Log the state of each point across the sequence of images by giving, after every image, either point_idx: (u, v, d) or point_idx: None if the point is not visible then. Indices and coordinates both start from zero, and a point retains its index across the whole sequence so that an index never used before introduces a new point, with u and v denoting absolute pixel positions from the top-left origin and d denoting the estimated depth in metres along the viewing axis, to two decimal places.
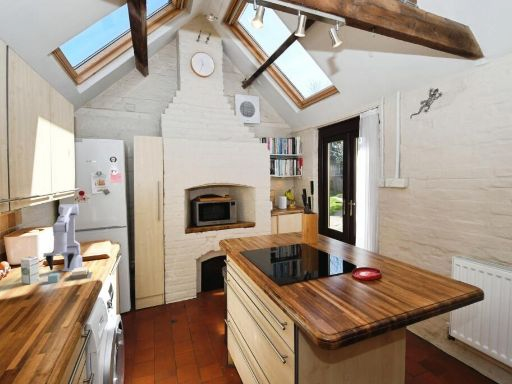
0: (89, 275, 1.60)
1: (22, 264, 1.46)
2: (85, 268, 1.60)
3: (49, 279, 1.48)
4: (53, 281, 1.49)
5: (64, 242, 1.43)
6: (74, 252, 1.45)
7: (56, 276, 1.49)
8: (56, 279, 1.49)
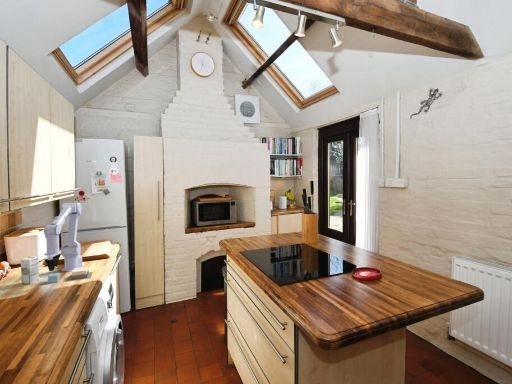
0: (89, 275, 1.60)
1: (22, 264, 1.46)
2: (85, 268, 1.60)
3: (49, 279, 1.48)
4: (53, 281, 1.49)
5: (55, 244, 1.48)
6: None
7: (56, 276, 1.49)
8: (56, 279, 1.49)
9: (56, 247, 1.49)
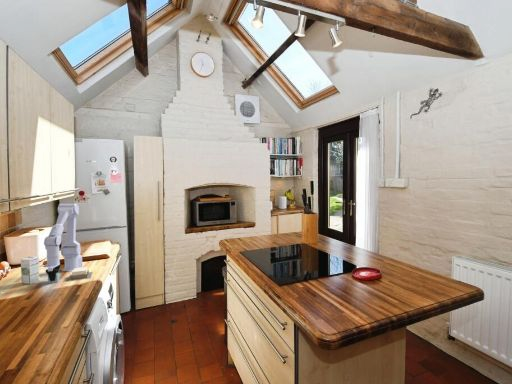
0: (89, 275, 1.60)
1: (22, 264, 1.46)
2: (85, 268, 1.60)
3: (49, 279, 1.48)
4: (53, 281, 1.49)
5: (55, 256, 1.49)
6: None
7: (56, 276, 1.49)
8: (56, 278, 1.49)
9: (56, 258, 1.49)
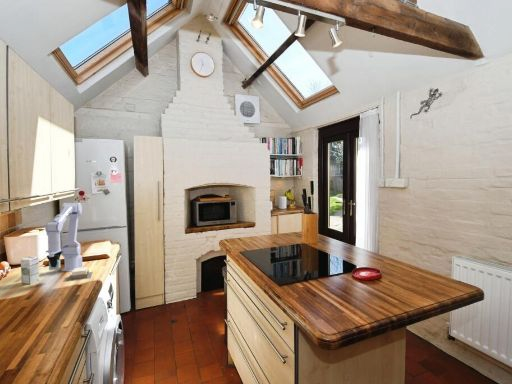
0: (89, 275, 1.60)
1: (22, 264, 1.46)
2: (85, 268, 1.60)
3: (50, 265, 1.48)
4: (54, 267, 1.49)
5: (56, 242, 1.49)
6: None
7: (57, 262, 1.49)
8: (57, 265, 1.49)
9: (57, 244, 1.49)
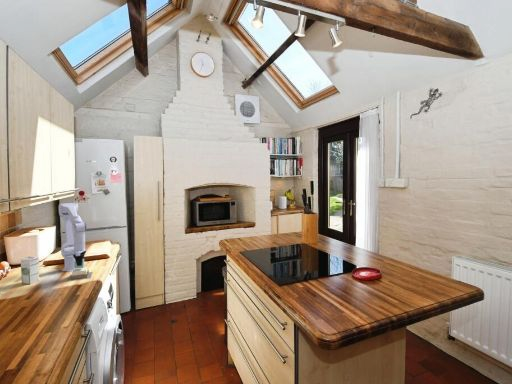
0: (89, 275, 1.60)
1: (22, 264, 1.46)
2: (85, 268, 1.60)
3: (75, 264, 1.55)
4: (79, 266, 1.56)
5: (84, 241, 1.58)
6: None
7: (82, 261, 1.57)
8: None
9: (83, 244, 1.57)
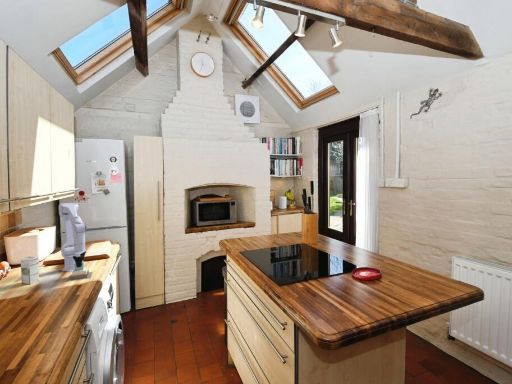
0: (89, 275, 1.60)
1: (22, 264, 1.46)
2: (85, 268, 1.60)
3: (75, 266, 1.55)
4: (79, 268, 1.56)
5: (84, 242, 1.58)
6: None
7: (82, 264, 1.57)
8: (82, 266, 1.57)
9: (83, 245, 1.57)
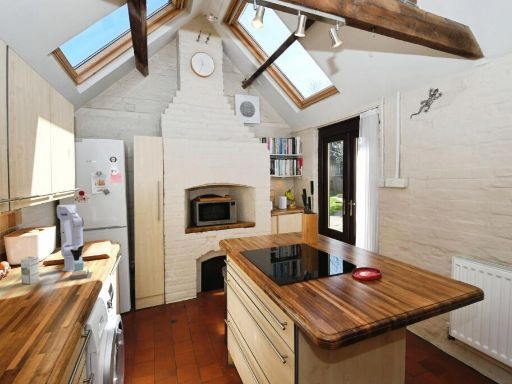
0: (89, 275, 1.60)
1: (22, 264, 1.46)
2: (85, 268, 1.60)
3: (75, 266, 1.55)
4: (79, 268, 1.56)
5: (82, 235, 1.60)
6: None
7: (82, 264, 1.57)
8: (82, 266, 1.57)
9: (80, 238, 1.59)
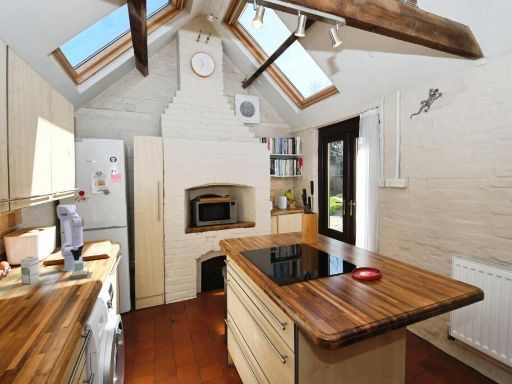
0: (89, 275, 1.60)
1: (22, 264, 1.46)
2: (85, 268, 1.60)
3: (75, 266, 1.55)
4: (79, 268, 1.56)
5: (82, 235, 1.60)
6: None
7: (82, 264, 1.57)
8: (82, 266, 1.57)
9: (80, 238, 1.59)
